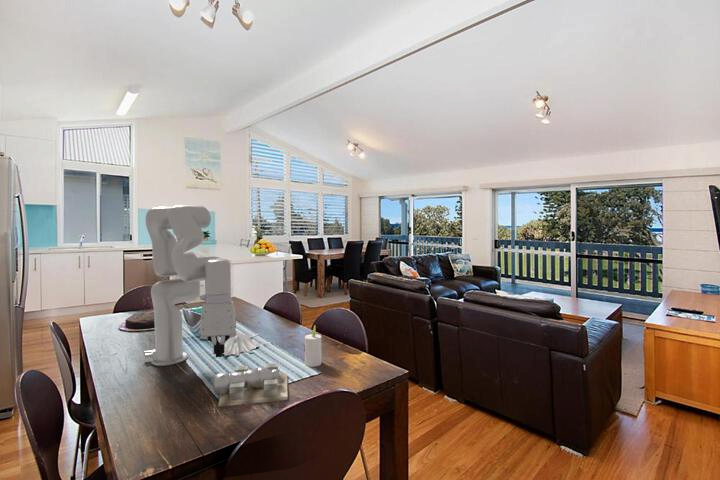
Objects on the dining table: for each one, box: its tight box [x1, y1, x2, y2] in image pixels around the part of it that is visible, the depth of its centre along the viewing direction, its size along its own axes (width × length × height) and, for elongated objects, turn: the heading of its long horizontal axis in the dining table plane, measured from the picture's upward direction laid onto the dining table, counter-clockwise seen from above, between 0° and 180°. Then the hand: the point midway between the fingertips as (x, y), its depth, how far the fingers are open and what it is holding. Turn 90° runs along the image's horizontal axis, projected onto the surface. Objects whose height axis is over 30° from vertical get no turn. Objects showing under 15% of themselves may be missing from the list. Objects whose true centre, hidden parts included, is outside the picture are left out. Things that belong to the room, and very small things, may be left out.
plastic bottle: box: [212, 366, 280, 396], centre depth 116 cm, size 6×7×20 cm
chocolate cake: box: [118, 310, 155, 332], centre depth 192 cm, size 28×28×7 cm
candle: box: [303, 324, 322, 368], centre depth 139 cm, size 6×6×15 cm
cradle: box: [217, 363, 289, 408], centre depth 118 cm, size 20×18×5 cm
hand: (219, 355), depth 115 cm, fingers closed
